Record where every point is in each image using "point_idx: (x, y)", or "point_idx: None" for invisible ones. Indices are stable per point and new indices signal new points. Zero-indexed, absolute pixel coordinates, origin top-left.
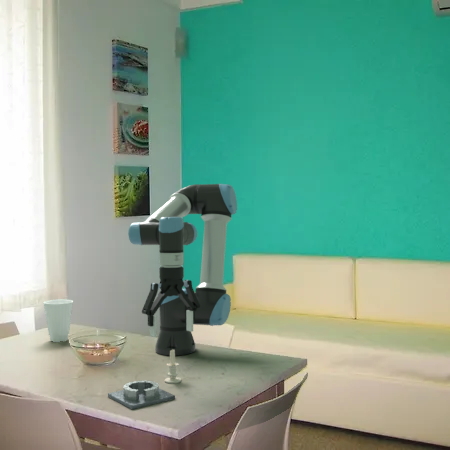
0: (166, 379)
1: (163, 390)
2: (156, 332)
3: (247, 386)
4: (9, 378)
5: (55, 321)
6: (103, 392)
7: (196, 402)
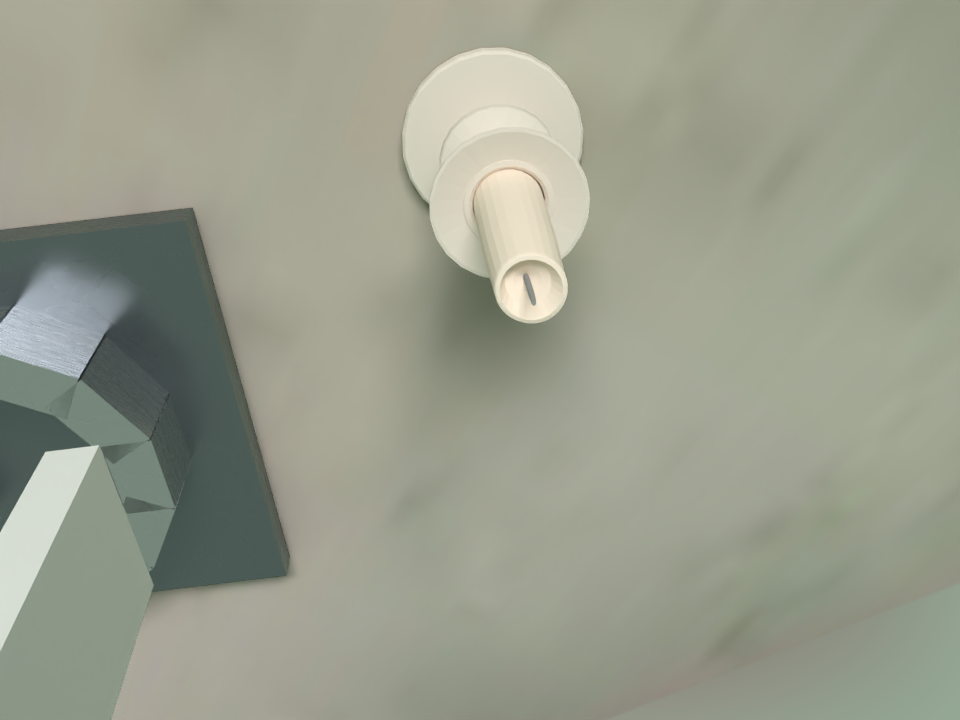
0: (432, 111)
1: (246, 443)
2: (127, 657)
3: (892, 560)
4: None
5: None
6: None
7: (394, 658)
